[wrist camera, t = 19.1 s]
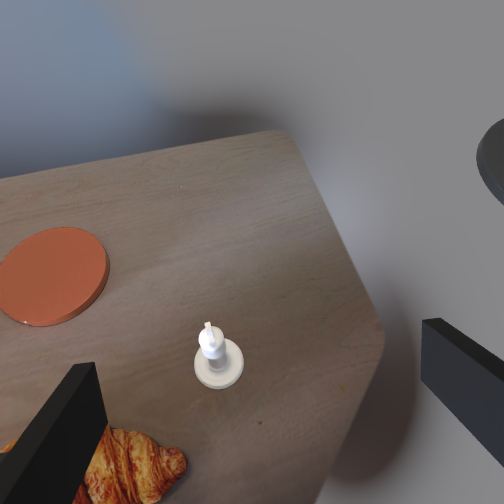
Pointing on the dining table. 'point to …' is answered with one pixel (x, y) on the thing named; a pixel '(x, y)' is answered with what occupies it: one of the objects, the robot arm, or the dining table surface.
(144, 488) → the croissant
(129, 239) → the dining table surface
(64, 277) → the orange flat disc
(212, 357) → the chess piece
